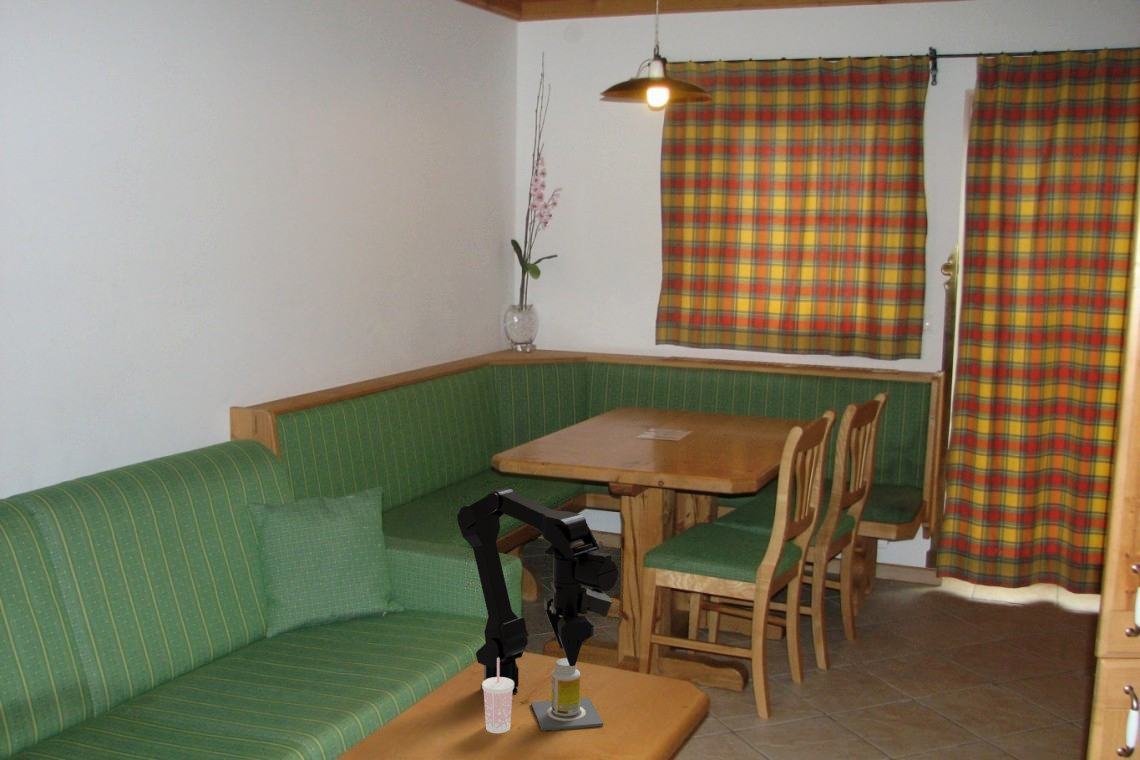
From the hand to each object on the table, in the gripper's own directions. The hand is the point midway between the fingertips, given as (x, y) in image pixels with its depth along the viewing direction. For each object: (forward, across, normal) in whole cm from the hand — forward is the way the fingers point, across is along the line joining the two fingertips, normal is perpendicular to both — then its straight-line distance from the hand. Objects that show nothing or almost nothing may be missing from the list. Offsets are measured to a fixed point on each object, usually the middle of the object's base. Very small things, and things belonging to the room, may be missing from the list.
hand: (567, 656), depth 215 cm
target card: (+12, 0, 0) cm, 12 cm away
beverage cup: (+12, -3, +14) cm, 19 cm away
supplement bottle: (+12, 0, 0) cm, 12 cm away
